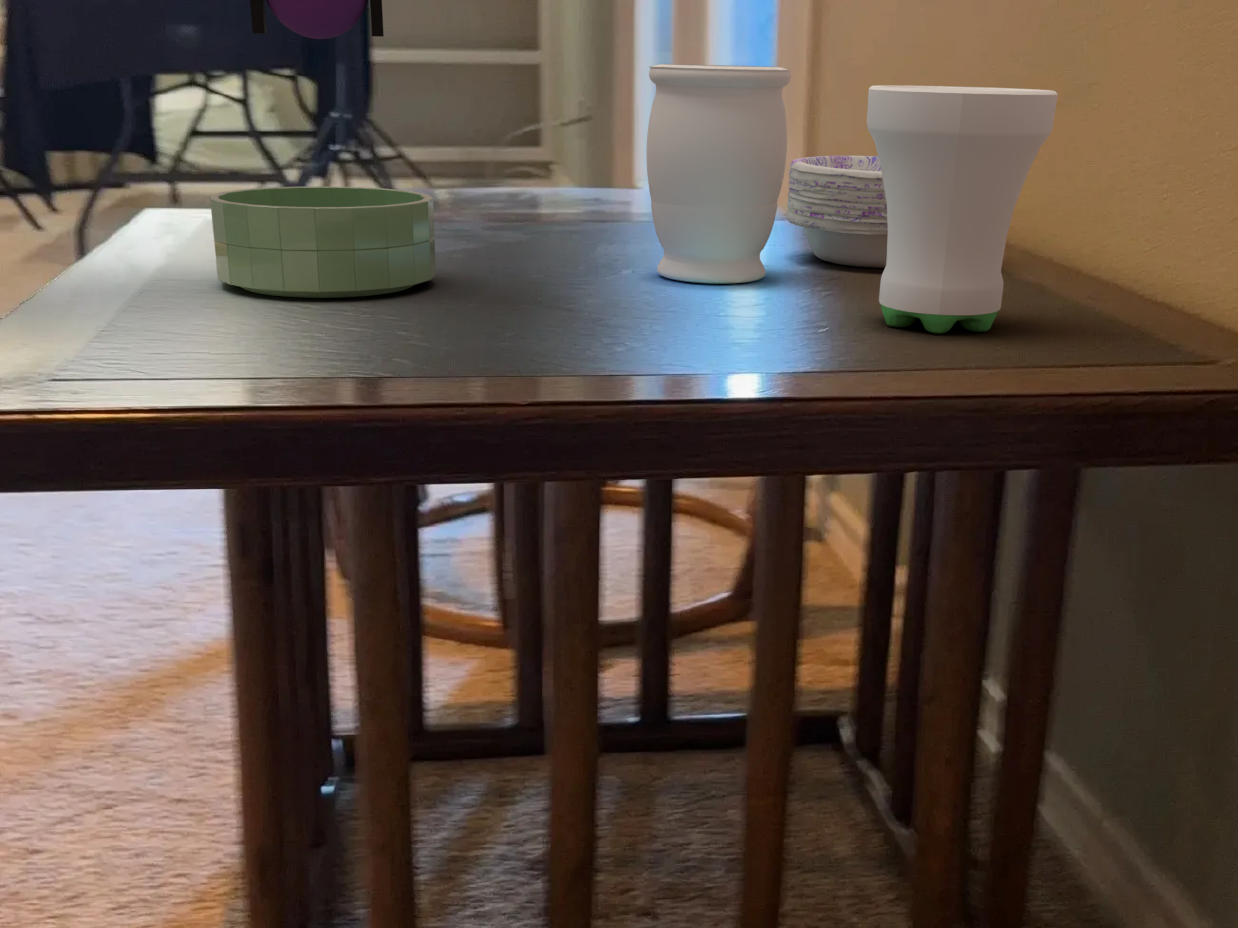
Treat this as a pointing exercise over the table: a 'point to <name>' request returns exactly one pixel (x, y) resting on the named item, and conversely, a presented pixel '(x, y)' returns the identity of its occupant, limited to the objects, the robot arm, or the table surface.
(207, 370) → the table surface
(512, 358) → the table surface
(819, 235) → the paper bowls
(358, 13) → the ball
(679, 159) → the jar
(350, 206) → the bowl
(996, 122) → the cup
